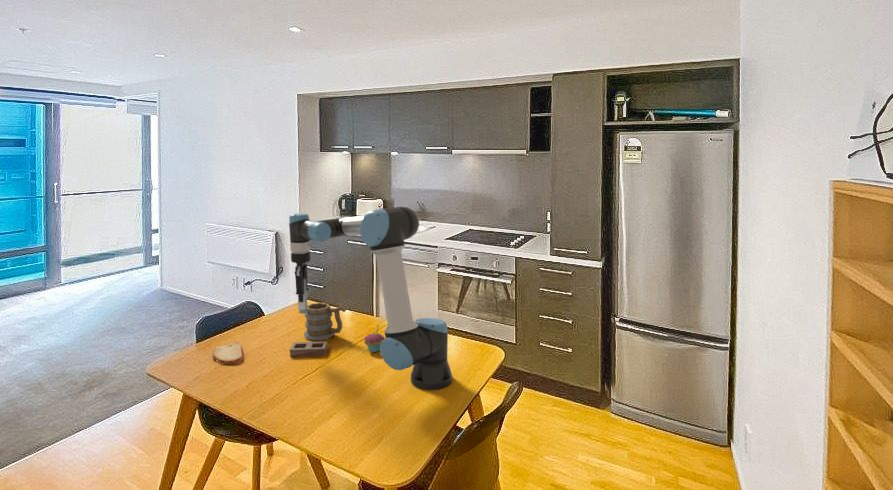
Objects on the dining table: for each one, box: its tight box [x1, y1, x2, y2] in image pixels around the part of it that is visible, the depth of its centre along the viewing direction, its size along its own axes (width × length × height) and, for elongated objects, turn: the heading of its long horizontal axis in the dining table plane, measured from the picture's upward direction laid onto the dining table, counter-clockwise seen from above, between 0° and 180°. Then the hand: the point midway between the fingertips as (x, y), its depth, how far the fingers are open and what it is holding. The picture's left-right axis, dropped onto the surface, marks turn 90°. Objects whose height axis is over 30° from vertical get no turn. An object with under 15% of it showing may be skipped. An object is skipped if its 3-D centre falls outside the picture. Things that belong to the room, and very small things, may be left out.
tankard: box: [303, 302, 347, 342], centre depth 225 cm, size 20×13×15 cm, turn 73°
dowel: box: [298, 279, 308, 315], centre depth 204 cm, size 3×3×14 cm
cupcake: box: [363, 322, 386, 353], centre depth 209 cm, size 9×8×12 cm
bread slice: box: [212, 341, 245, 365], centre depth 205 cm, size 18×18×4 cm
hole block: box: [289, 341, 329, 358], centre depth 208 cm, size 8×14×3 cm, turn 96°
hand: (302, 307), depth 205 cm, fingers closed on dowel, 3 cm apart
